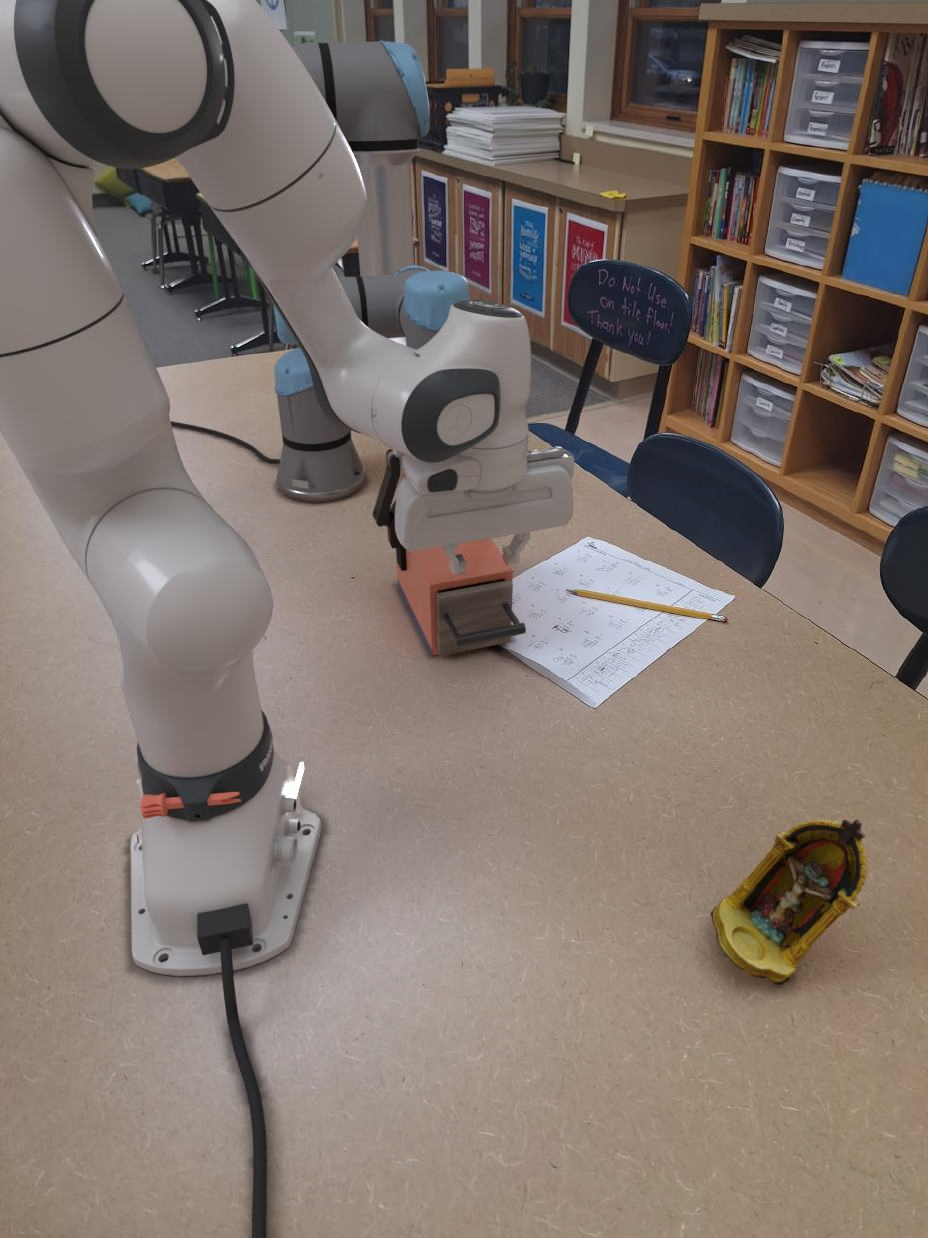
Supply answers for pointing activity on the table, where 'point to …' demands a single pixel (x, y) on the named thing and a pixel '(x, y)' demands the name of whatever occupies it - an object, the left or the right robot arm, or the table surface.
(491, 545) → the cabinet
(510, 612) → the drawer
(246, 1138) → the table surface
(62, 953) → the table surface
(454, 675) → the table surface
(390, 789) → the table surface
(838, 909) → the shrine
